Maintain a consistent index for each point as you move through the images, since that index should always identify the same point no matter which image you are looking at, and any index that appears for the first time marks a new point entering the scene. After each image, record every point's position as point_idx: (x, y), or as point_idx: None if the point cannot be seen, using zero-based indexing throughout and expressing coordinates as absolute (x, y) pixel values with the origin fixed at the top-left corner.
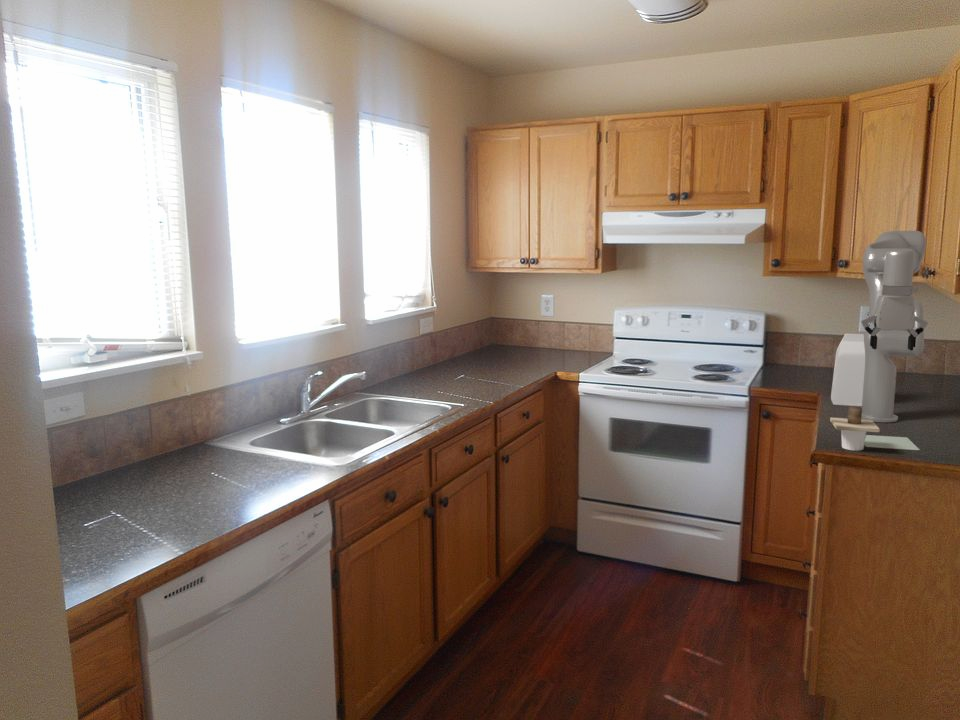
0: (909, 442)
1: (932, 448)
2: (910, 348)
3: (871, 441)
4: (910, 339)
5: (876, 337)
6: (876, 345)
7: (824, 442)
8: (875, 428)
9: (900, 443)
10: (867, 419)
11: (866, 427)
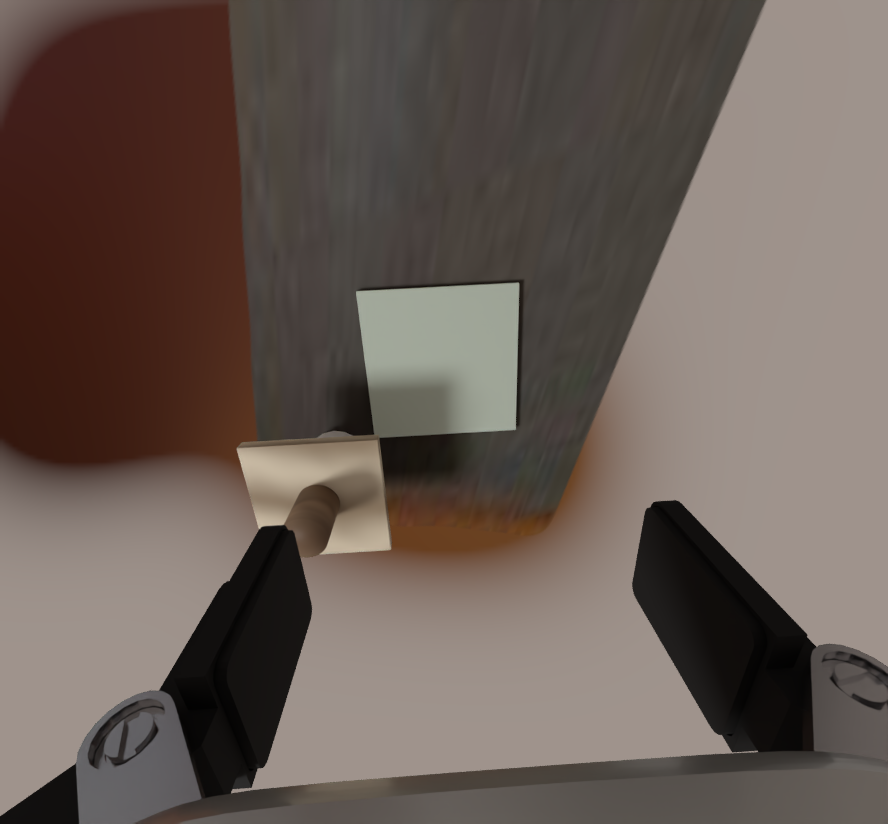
0: (508, 352)
1: (561, 380)
2: (640, 604)
3: (395, 374)
4: (703, 685)
5: (255, 765)
6: (299, 646)
7: (259, 405)
8: (379, 548)
9: (478, 372)
10: (364, 441)
11: (353, 546)
